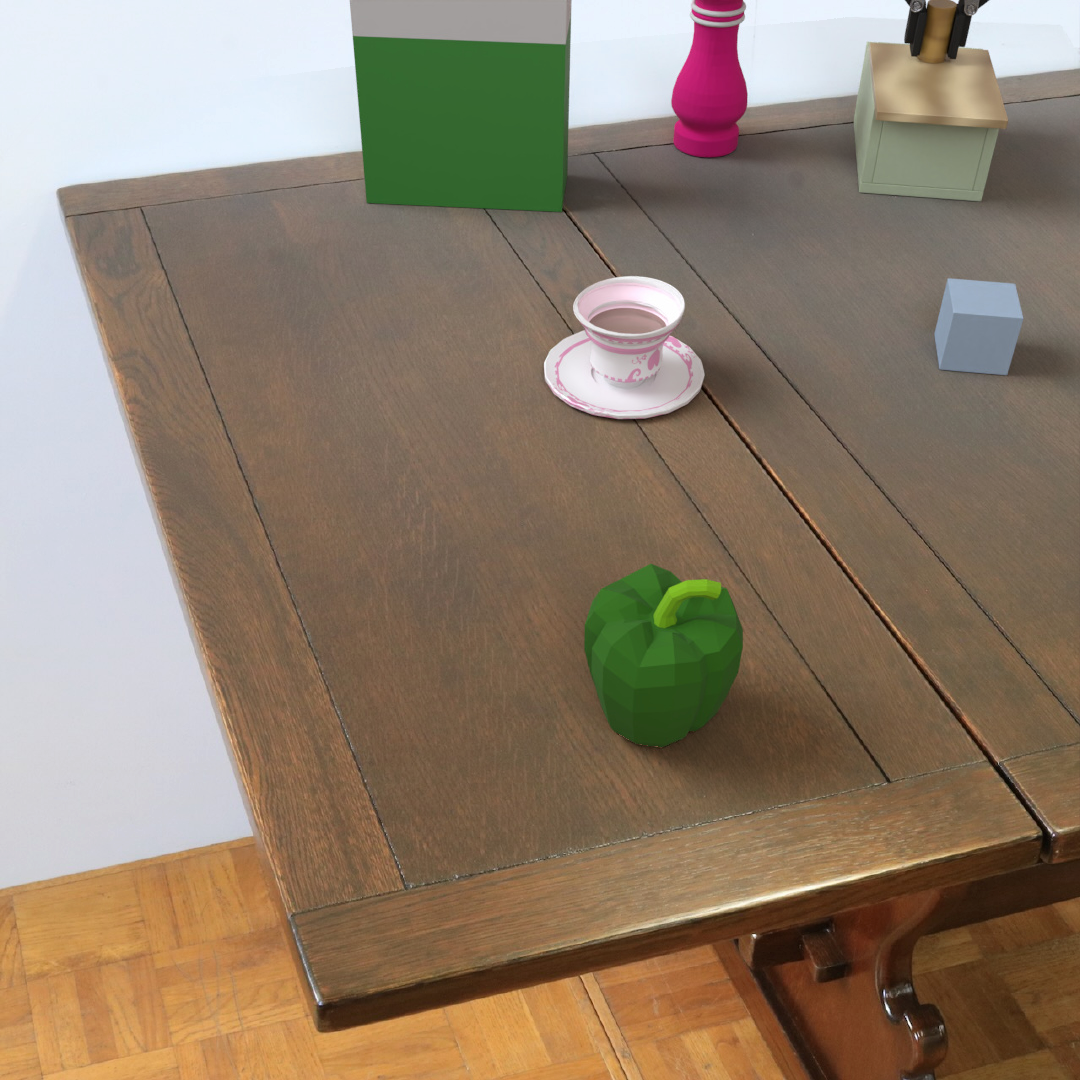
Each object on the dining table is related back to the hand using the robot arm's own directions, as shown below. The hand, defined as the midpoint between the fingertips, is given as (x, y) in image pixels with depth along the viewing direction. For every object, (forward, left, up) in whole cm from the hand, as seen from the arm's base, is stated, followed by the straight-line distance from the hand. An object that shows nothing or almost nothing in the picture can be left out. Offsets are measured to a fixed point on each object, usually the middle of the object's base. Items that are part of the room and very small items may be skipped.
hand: (932, 50), depth 123 cm
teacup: (+24, +43, -10) cm, 50 cm away
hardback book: (+41, +15, -10) cm, 45 cm away
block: (-2, +36, -10) cm, 38 cm away
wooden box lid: (0, +5, -1) cm, 5 cm away
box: (0, +2, -10) cm, 10 cm away
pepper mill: (+20, +2, -10) cm, 22 cm away
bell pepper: (+19, +76, -10) cm, 79 cm away
